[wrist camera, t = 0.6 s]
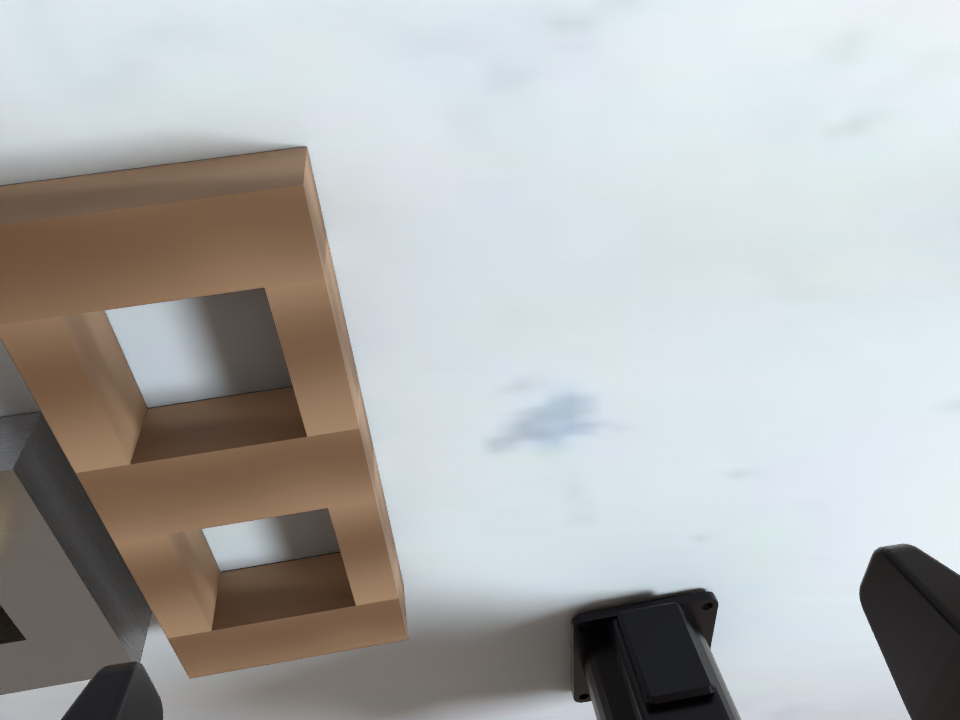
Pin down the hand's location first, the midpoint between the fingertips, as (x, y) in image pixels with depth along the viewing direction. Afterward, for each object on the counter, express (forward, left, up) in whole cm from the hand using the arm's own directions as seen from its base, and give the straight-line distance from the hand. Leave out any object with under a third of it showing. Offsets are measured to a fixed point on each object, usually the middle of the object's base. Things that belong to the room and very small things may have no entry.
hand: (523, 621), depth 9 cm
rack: (-8, +7, -14) cm, 17 cm away
